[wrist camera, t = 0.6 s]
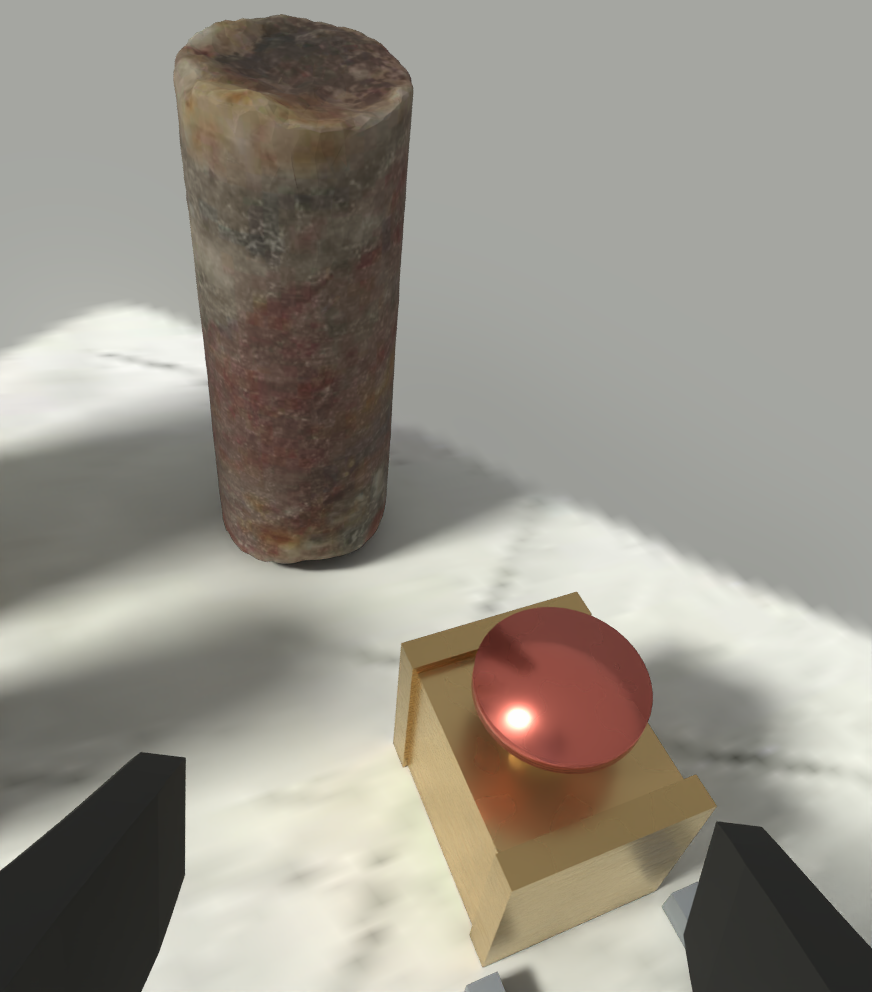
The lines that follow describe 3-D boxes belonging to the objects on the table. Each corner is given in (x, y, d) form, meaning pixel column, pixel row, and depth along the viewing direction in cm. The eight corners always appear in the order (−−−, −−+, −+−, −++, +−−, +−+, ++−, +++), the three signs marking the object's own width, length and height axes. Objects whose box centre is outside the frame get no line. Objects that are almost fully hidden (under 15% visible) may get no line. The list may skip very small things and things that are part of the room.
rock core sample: (381, 461, 41) (400, 17, 27) (399, 574, 36) (432, 99, 22) (226, 468, 40) (160, 7, 26) (221, 586, 35) (136, 91, 21)
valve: (655, 890, 27) (744, 769, 21) (482, 967, 25) (525, 857, 19) (545, 692, 32) (590, 549, 26) (393, 743, 30) (404, 600, 24)
